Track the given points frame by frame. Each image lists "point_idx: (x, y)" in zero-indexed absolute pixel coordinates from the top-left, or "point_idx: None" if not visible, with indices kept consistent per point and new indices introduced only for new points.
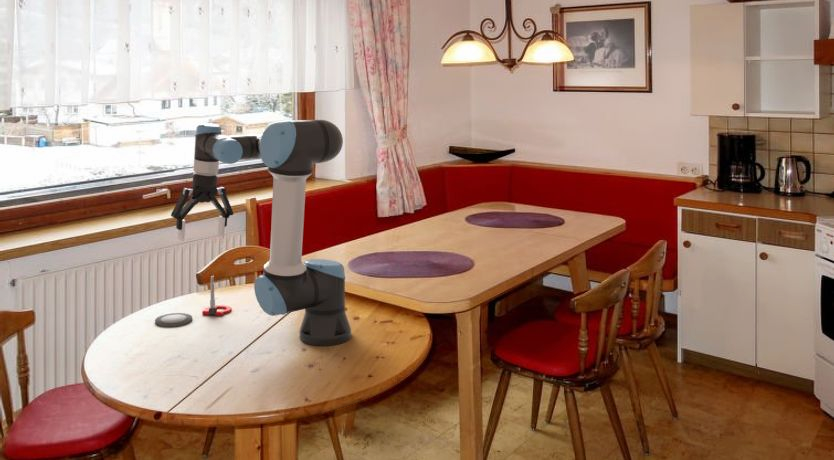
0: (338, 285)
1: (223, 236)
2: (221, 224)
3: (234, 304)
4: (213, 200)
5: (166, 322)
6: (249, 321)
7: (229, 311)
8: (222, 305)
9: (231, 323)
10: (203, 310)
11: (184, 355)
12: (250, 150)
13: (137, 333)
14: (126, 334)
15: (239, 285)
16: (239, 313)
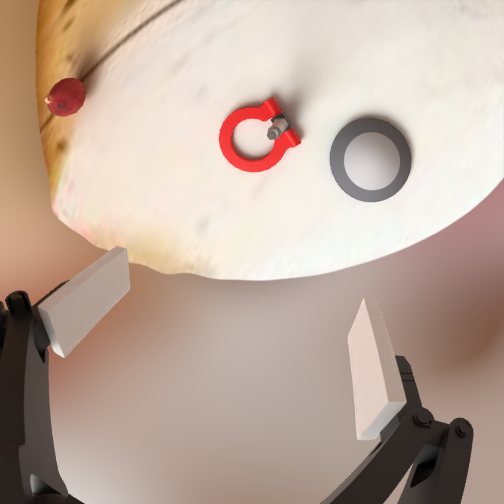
0: None
1: (115, 248)
2: (83, 297)
3: (194, 155)
4: (19, 484)
5: (398, 153)
6: (246, 23)
7: (239, 109)
8: (227, 157)
9: (287, 40)
10: (295, 145)
11: (455, 2)
12: None
13: (454, 161)
14: (466, 175)
15: None
16: (226, 86)
